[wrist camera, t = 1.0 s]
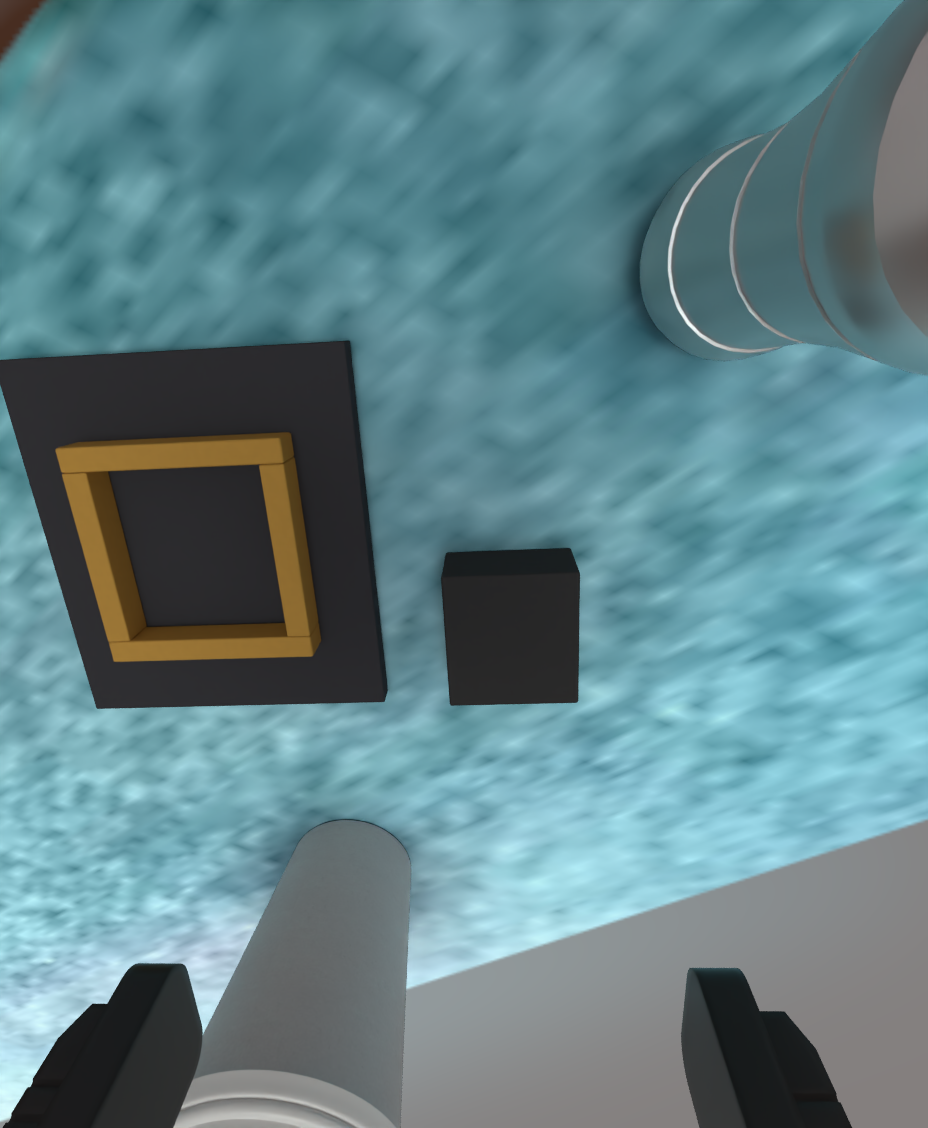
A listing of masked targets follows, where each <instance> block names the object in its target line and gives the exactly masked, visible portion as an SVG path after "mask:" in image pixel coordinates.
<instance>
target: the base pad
mask: <svg viewBox="0 0 928 1128" xmlns="http://www.w3.org/2000/svg"><path fill="white" fill-rule="evenodd" d="M0 385H1V388H2V392H3V395H4V398H5V402H6V405H7V408H8V412H9V415H10V419H11V422H12V425H13V429H14V432H15V435H16V439H17V442H18V445H19V449H20V452H21V455H22V459H23V462H24V466H25V469H26V472H27V476H28V479H29V482H30V486H31V489H32V492H33V496H34V499H35V503H36V506H37V509H38V513H39V516H40V519H41V523H42V526H43V529H44V533H45V536H46V539H47V543H48V546H49V550H50V553H51V556H52V560H53V563H54V566H55V570H56V573H57V576H58V580H59V583H60V587H61V590H62V593H63V597H64V600H65V603H66V607H67V610H68V613H69V617H70V620H71V624H72V627H73V630H74V634H75V637H76V640H77V644H78V647H79V650H80V654H81V657H82V660H83V664H84V667H85V671H86V674H87V677H88V681H89V684H90V687H91V691H92V694H93V697H94V701H95V704H96V708H97V709H105V708H147V707H190V706H232V705H275V704H317V703H359V702H384V701H385V698H386V695H387V691H388V689H387V680H386V671H385V662H384V653H383V643H382V634H381V625H380V616H379V606H378V597H377V588H376V579H375V570H374V560H373V551H372V542H371V533H370V524H369V514H368V505H367V496H366V487H365V478H364V468H363V459H362V450H361V441H360V431H359V422H358V413H357V404H356V395H355V385H354V376H353V367H352V358H351V349H350V342H349V341H336V342H317V343H299V344H281V345H263V346H245V347H227V348H209V349H190V350H172V351H154V352H136V353H118V354H100V355H82V356H63V357H45V358H27V359H9V360H0Z"/></svg>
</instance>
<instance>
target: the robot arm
mask: <svg viewBox="0 0 928 1128" xmlns="http://www.w3.org/2000/svg"><path fill="white" fill-rule="evenodd" d="M202 1034H203V1032H202V1024H201V1020H200V1017H199V1013H198V1009H197V1005H196V1002H195V998H194V994H193V990H192V986H191V983H190V979H189V975H188V971H187V969H186V967H185V965H183V964H149V963H138V964H135V965H133V966H132V967H131V968H129V969H128V971H127V972H126V973H125V975H124V976H123V978H122V979H121V981H120V983H119V985H118V986H117V988H116V990H115V991H114V993H113V995H112V997H111V998H110V1000H109V1002H108V1004H92V1005H91V1006H90V1007H89V1008H88V1009H87V1010H86V1011H85V1012H84V1013H83V1014H82V1015H81V1016H80V1017H79V1018H78V1019H77V1020H76V1021H75V1022H74V1023H73V1024H72V1025H71V1026H70V1027H69V1028H68V1029H67V1030H66V1031H65V1032H64V1033H63V1034H62V1035H61V1036H60V1037H59V1038H58V1039H57V1041H56V1042H55V1044H54V1046H53V1047H52V1049H51V1051H50V1052H49V1054H48V1055H47V1057H46V1059H45V1060H44V1062H43V1063H42V1065H41V1067H40V1068H39V1070H38V1071H37V1073H36V1075H35V1076H34V1078H33V1083H32V1085H31V1087H28V1088H27V1089H26V1091H25V1092H24V1094H23V1096H22V1097H21V1099H20V1101H19V1102H18V1104H17V1105H16V1107H15V1109H14V1110H13V1112H12V1113H11V1114H12V1116H11V1119H10V1121H9V1122H8V1123H5V1125H4V1126H3V1128H173V1127H174V1125H175V1122H176V1120H177V1117H178V1115H179V1112H180V1110H181V1107H182V1105H183V1102H184V1100H185V1097H186V1095H187V1093H188V1090H189V1088H190V1085H191V1083H192V1080H193V1078H194V1075H195V1072H196V1069H197V1066H198V1062H199V1058H200V1054H201V1048H202ZM681 1040H682V1041H681V1042H682V1053H683V1061H684V1067H685V1073H686V1078H687V1082H688V1086H689V1090H690V1094H691V1097H692V1101H693V1105H694V1109H695V1112H696V1116H697V1120H698V1124H699V1127H700V1128H852V1127H851V1124H850V1122H849V1120H848V1118H847V1116H846V1114H845V1111H844V1109H843V1107H842V1105H841V1103H839V1102H838V1100H837V1096H836V1092H835V1090H834V1087H833V1085H832V1083H831V1081H830V1079H829V1076H828V1074H827V1072H826V1070H825V1068H824V1066H823V1064H822V1061H821V1059H820V1057H819V1055H818V1052H817V1050H816V1049H815V1047H814V1046H813V1045H812V1044H811V1043H810V1041H809V1040H808V1039H807V1038H806V1037H805V1036H804V1034H803V1033H802V1032H801V1031H800V1030H799V1028H798V1027H797V1026H796V1025H795V1024H794V1023H793V1021H792V1020H791V1019H790V1018H789V1017H788V1015H787V1014H786V1013H785V1012H781V1011H780V1012H779V1011H769V1012H768V1011H759V1009H758V1006H757V1004H756V1001H755V999H754V996H753V994H752V992H751V989H750V986H749V984H748V982H747V980H746V978H745V976H744V974H743V973H742V971H741V970H740V969H738V968H690V969H689V970H688V973H687V983H686V993H685V1002H684V1012H683V1023H682V1032H681Z"/></svg>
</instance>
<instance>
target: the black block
mask: <svg viewBox="0 0 928 1128" xmlns="http://www.w3.org/2000/svg"><path fill="white" fill-rule="evenodd" d="M441 583H442V597H443V612H444V626H445V640H446V655H447V669H448V684H449V698H450V705H495V704H539V703H577V702H578V675H579V599H580V573H579V570H578V567H577V565H576V562H575V559H574V557H573V554H572V551H571V549H570V548H565V549H537V550H509V551H482V552H454V553H446V556H445V561H444V567H443V572H442V577H441Z"/></svg>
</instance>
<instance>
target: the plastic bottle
mask: <svg viewBox="0 0 928 1128" xmlns="http://www.w3.org/2000/svg"><path fill="white" fill-rule="evenodd" d="M640 286H641V292H642V298H643V301H644V303H645V306H646V309H647V311H648V314H649V316H650V317H651V319H652V320H653V322H654V324H655V325H656V327H657V328H658V329H659V330H660V331H661V332H662V333H663V334H664V335H665V336H666V337H667V338H668V339H669V340H670V341H671V342H672V343H673V344H674V345H676V346H678V347H679V348H681V349H682V350H684V351H686V352H687V353H689V354H691V355H694V356H697V357H700V358H703V359H706V360H716V361H732V360H741V359H746V358H750V357H754V356H758V355H761V354H764V353H767V352H770V351H774V350H777V349H779V348H781V347H783V346H786V345H793V344H799V343H808V344H814V345H822V346H830V347H838V348H841V349H843V350H846V351H849V352H852V353H855V354H858V355H861V356H864V357H867V358H870V359H872V360H875V361H878V362H880V363H883V364H886V365H889V366H892V367H895V368H898V369H901V370H903V371H906V372H909V373H914V374H920V375H926V376H928V0H904V1H903V2H902V3H901V4H900V5H899V6H898V7H897V8H896V9H895V10H894V11H893V12H892V14H891V15H890V16H889V17H888V18H887V20H886V21H885V22H884V23H883V24H882V25H881V27H880V28H879V29H878V30H877V31H876V32H875V33H874V34H873V36H872V37H871V38H870V39H869V40H868V41H867V42H866V44H865V45H864V46H863V47H862V48H861V49H860V50H859V52H858V53H857V54H856V55H855V56H854V57H853V58H852V59H851V61H850V62H849V63H848V64H847V65H846V66H845V67H844V69H843V70H842V71H841V72H840V73H839V74H838V75H837V77H836V78H835V79H834V80H833V81H832V82H831V83H830V84H829V86H828V87H827V88H826V89H825V90H824V91H823V92H822V94H820V95H819V96H818V97H817V98H816V99H815V100H813V101H812V102H811V103H810V104H809V105H808V106H806V107H805V108H804V109H803V110H802V111H801V112H799V113H798V114H797V115H796V116H795V117H794V118H792V119H791V120H790V121H789V122H788V123H786V124H784V125H782V126H780V127H778V128H776V129H774V130H772V131H770V132H768V133H766V134H759V135H754V136H751V137H748V138H746V139H743V140H740V141H737V142H735V143H732V144H729V145H727V146H724V147H722V148H719V149H717V150H715V151H714V152H712V153H710V154H709V155H707V156H706V157H704V158H702V159H701V160H699V161H698V162H696V163H695V164H694V165H693V166H692V167H691V168H690V169H689V170H687V171H686V172H685V173H684V174H683V175H682V176H681V177H680V178H679V179H678V180H677V182H676V183H675V184H674V185H673V187H672V188H671V189H670V190H669V192H668V193H667V194H666V196H665V198H664V199H663V201H662V203H661V205H660V206H659V208H658V210H657V212H656V213H655V215H654V218H653V220H652V222H651V225H650V227H649V230H648V233H647V235H646V238H645V241H644V244H643V249H642V254H641V260H640Z"/></svg>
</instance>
